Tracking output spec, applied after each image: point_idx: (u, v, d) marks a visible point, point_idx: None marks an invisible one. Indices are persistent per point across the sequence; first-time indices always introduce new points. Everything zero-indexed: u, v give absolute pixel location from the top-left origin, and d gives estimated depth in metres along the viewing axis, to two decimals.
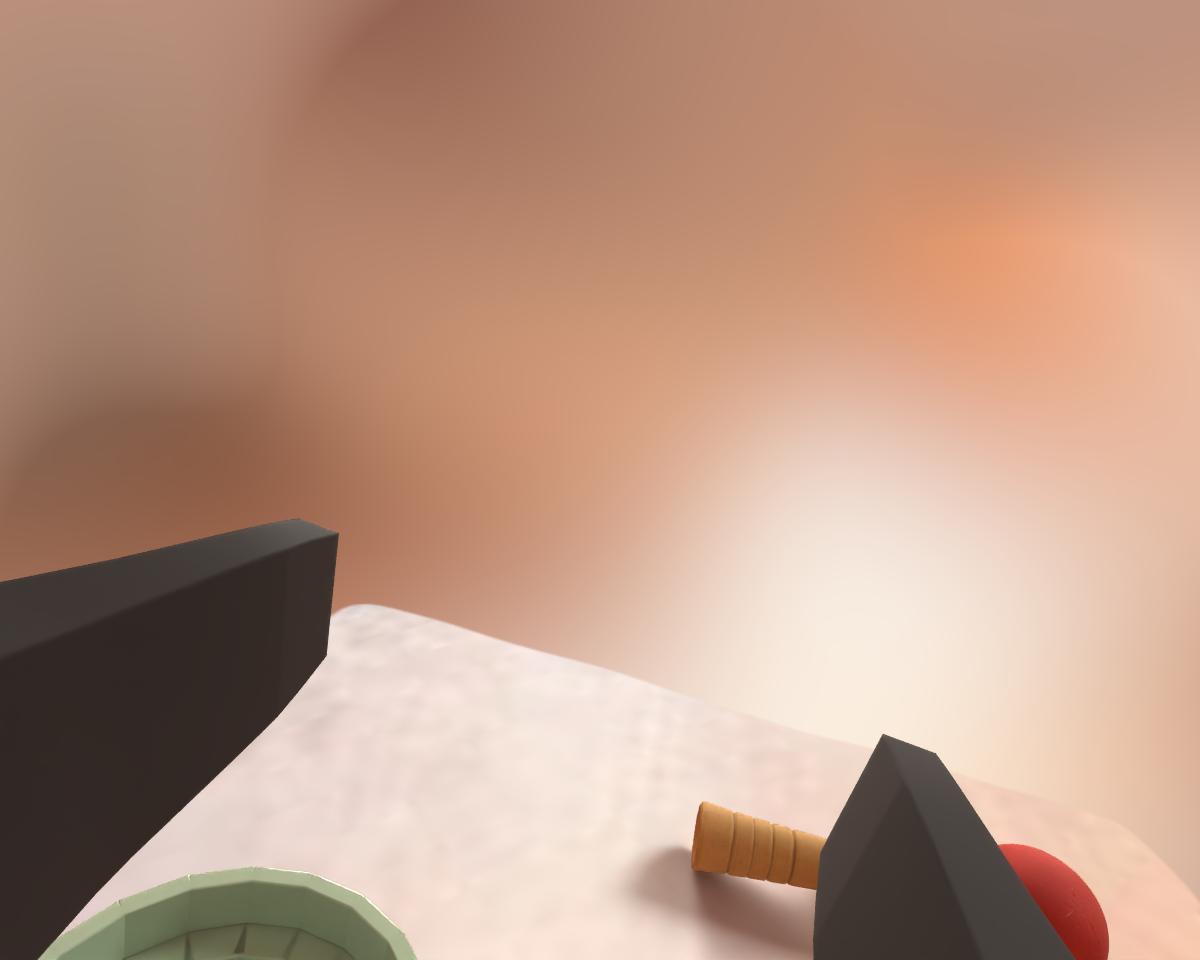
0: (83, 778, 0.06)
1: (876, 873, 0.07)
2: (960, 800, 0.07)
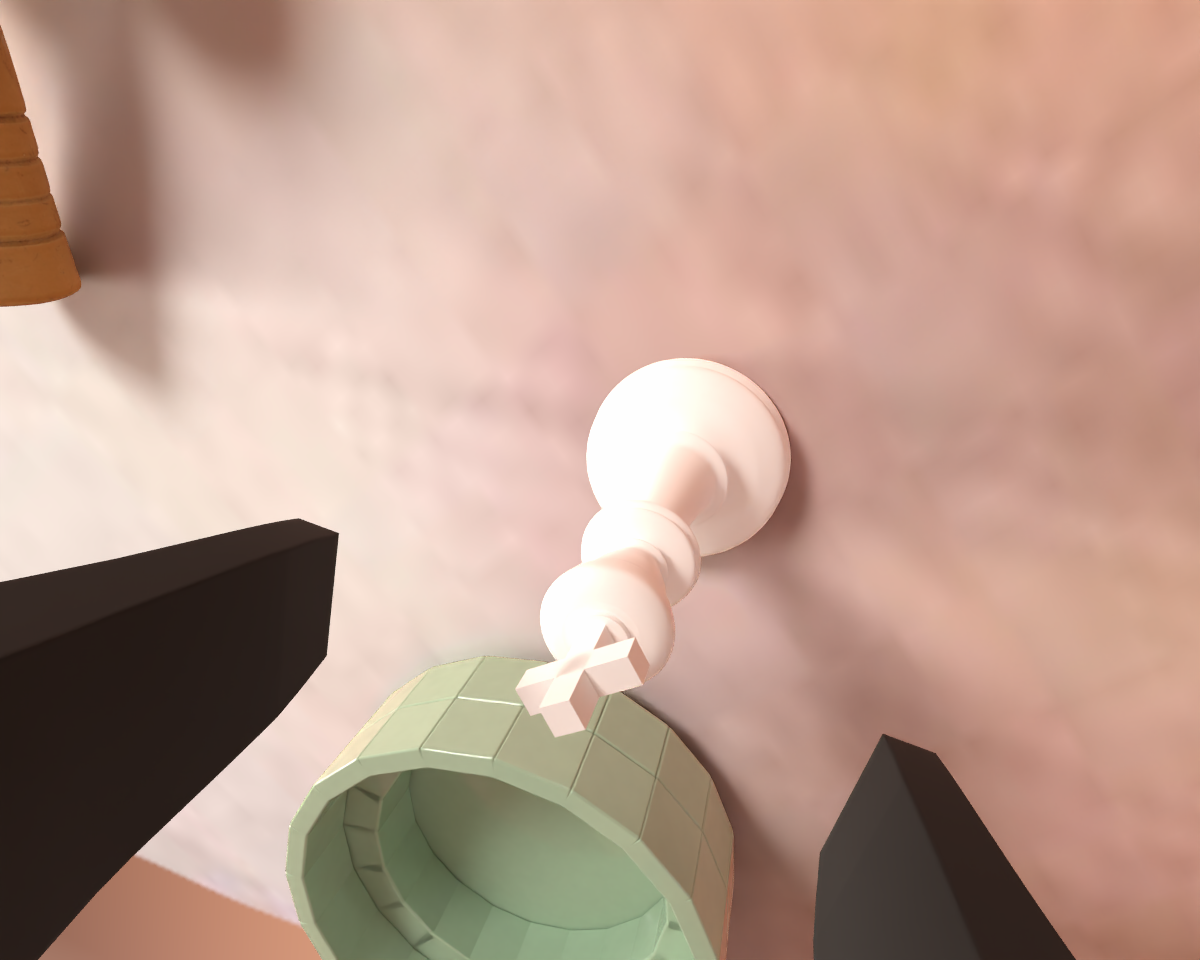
0: (83, 778, 0.06)
1: (876, 873, 0.07)
2: (961, 800, 0.07)
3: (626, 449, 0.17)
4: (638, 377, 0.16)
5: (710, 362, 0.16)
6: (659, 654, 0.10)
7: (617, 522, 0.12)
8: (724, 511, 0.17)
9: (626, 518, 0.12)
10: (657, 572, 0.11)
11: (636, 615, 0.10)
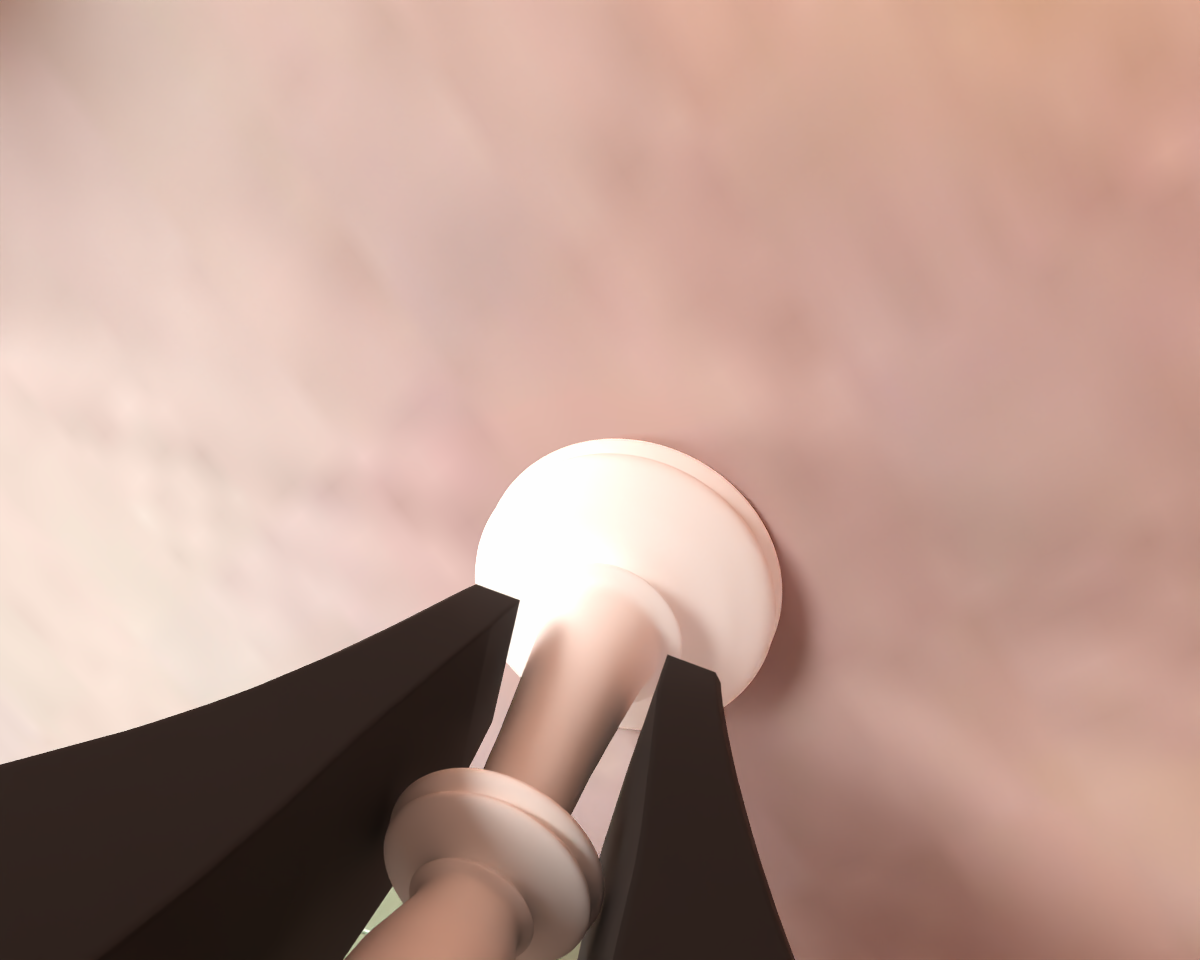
0: (329, 890, 0.06)
1: (631, 776, 0.07)
2: (710, 706, 0.07)
3: (527, 579, 0.11)
4: (545, 470, 0.11)
5: (657, 446, 0.11)
6: None
7: (438, 818, 0.06)
8: None
9: (455, 812, 0.06)
10: None
11: None
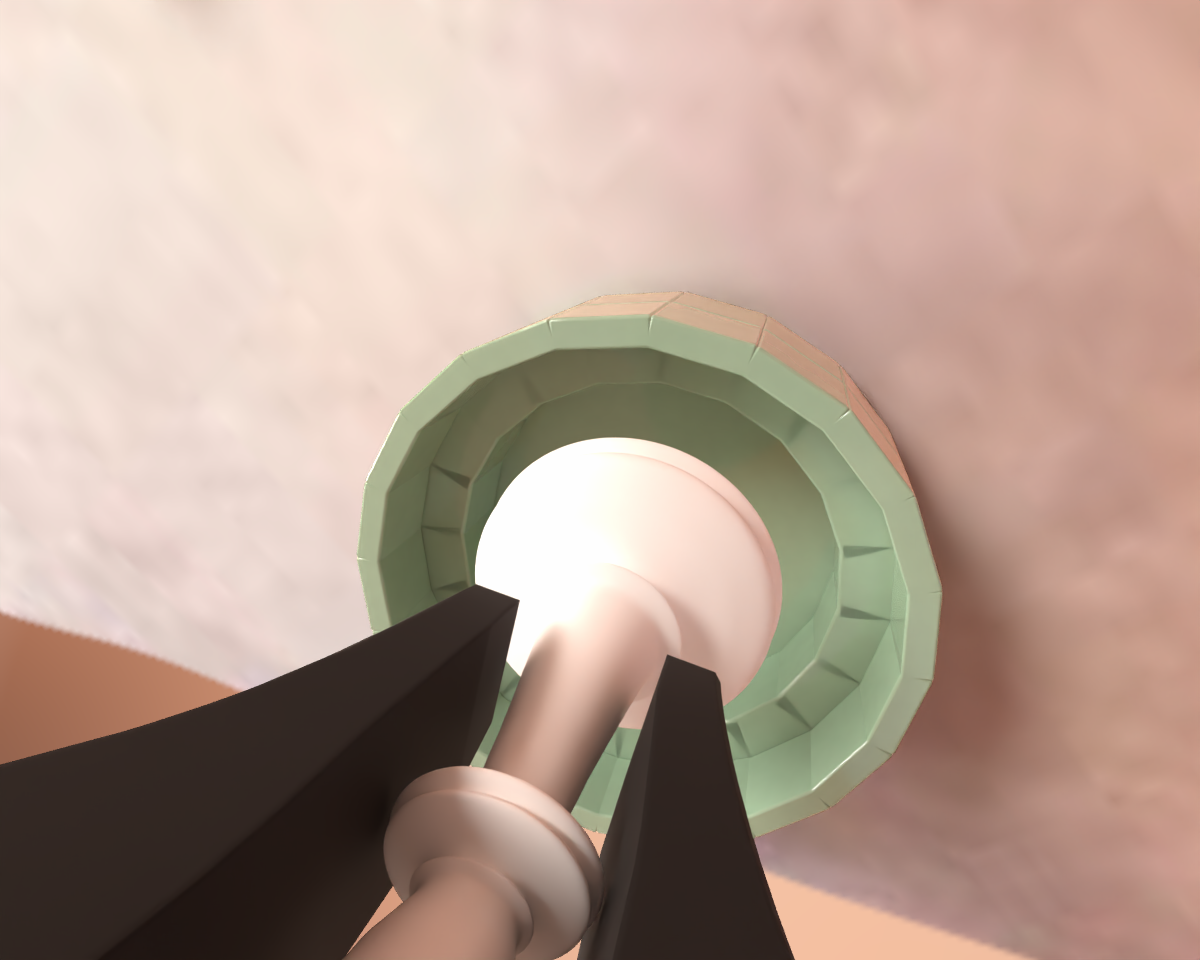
0: (329, 890, 0.06)
1: (631, 775, 0.07)
2: (710, 705, 0.07)
3: (527, 578, 0.11)
4: (544, 469, 0.11)
5: (657, 445, 0.11)
6: None
7: (438, 817, 0.06)
8: None
9: (455, 811, 0.06)
10: None
11: None
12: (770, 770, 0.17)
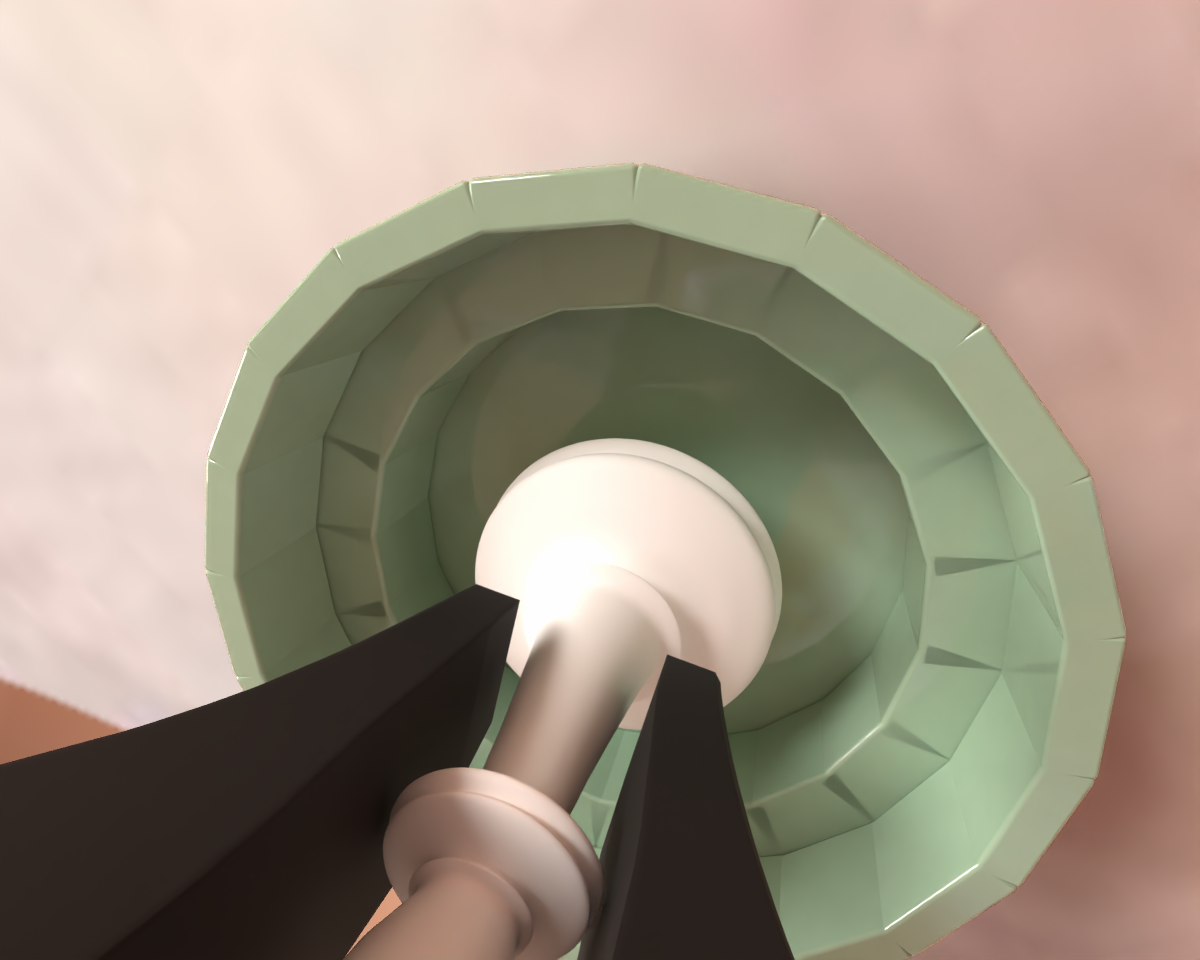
0: (330, 890, 0.06)
1: (631, 775, 0.07)
2: (710, 705, 0.07)
3: (527, 579, 0.11)
4: (544, 470, 0.11)
5: (656, 446, 0.11)
6: None
7: (437, 818, 0.06)
8: None
9: (454, 812, 0.06)
10: None
11: None
12: (814, 883, 0.11)
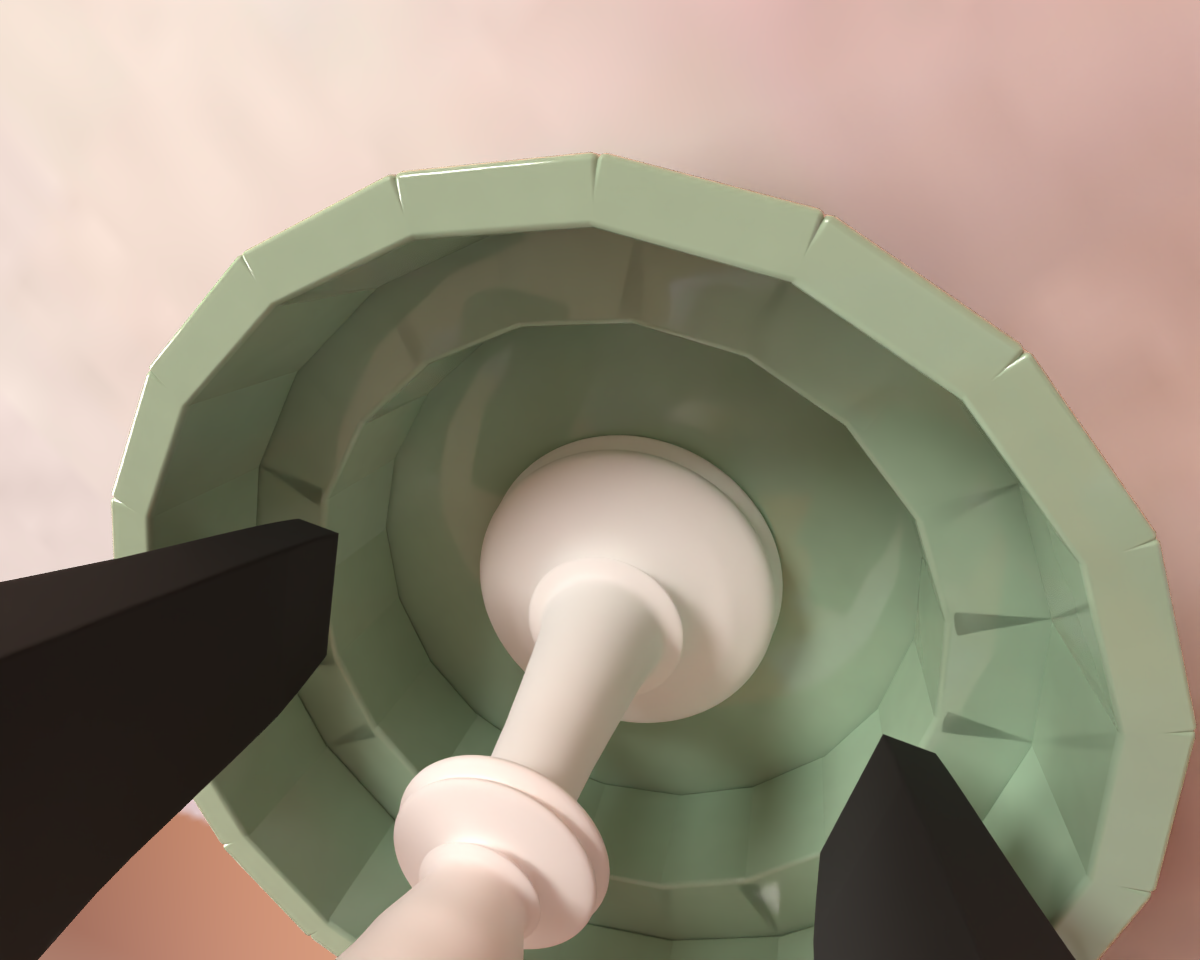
0: (84, 778, 0.06)
1: (876, 873, 0.07)
2: (962, 800, 0.07)
3: (532, 574, 0.11)
4: (548, 466, 0.11)
5: (659, 443, 0.11)
6: None
7: (447, 804, 0.06)
8: (681, 670, 0.11)
9: (464, 798, 0.06)
10: None
11: None
12: None
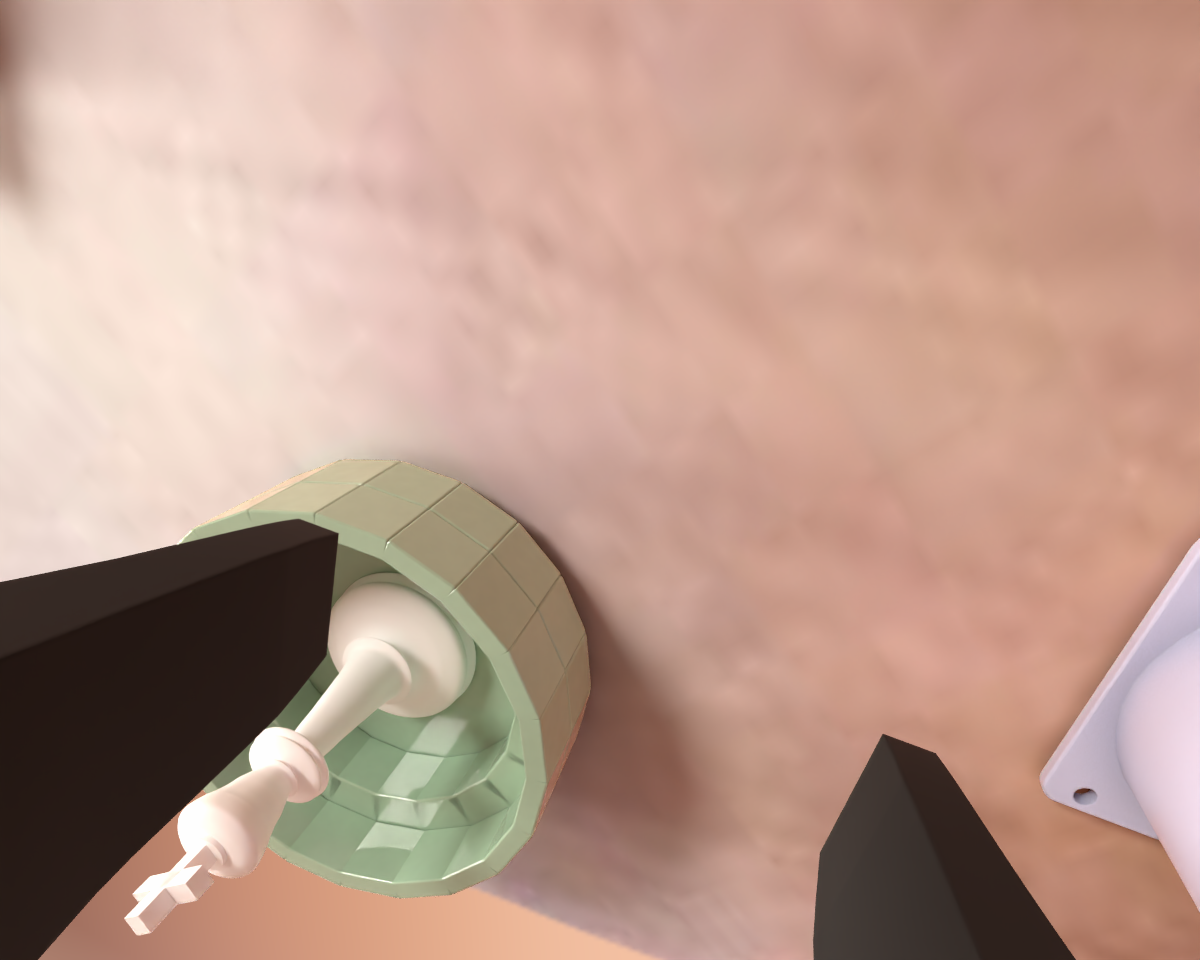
0: (83, 778, 0.06)
1: (876, 873, 0.07)
2: (961, 800, 0.07)
3: (347, 642, 0.22)
4: (353, 589, 0.22)
5: None
6: (246, 861, 0.15)
7: (265, 744, 0.17)
8: (420, 691, 0.22)
9: (271, 742, 0.17)
10: (270, 793, 0.16)
11: (226, 838, 0.15)
12: (474, 839, 0.21)
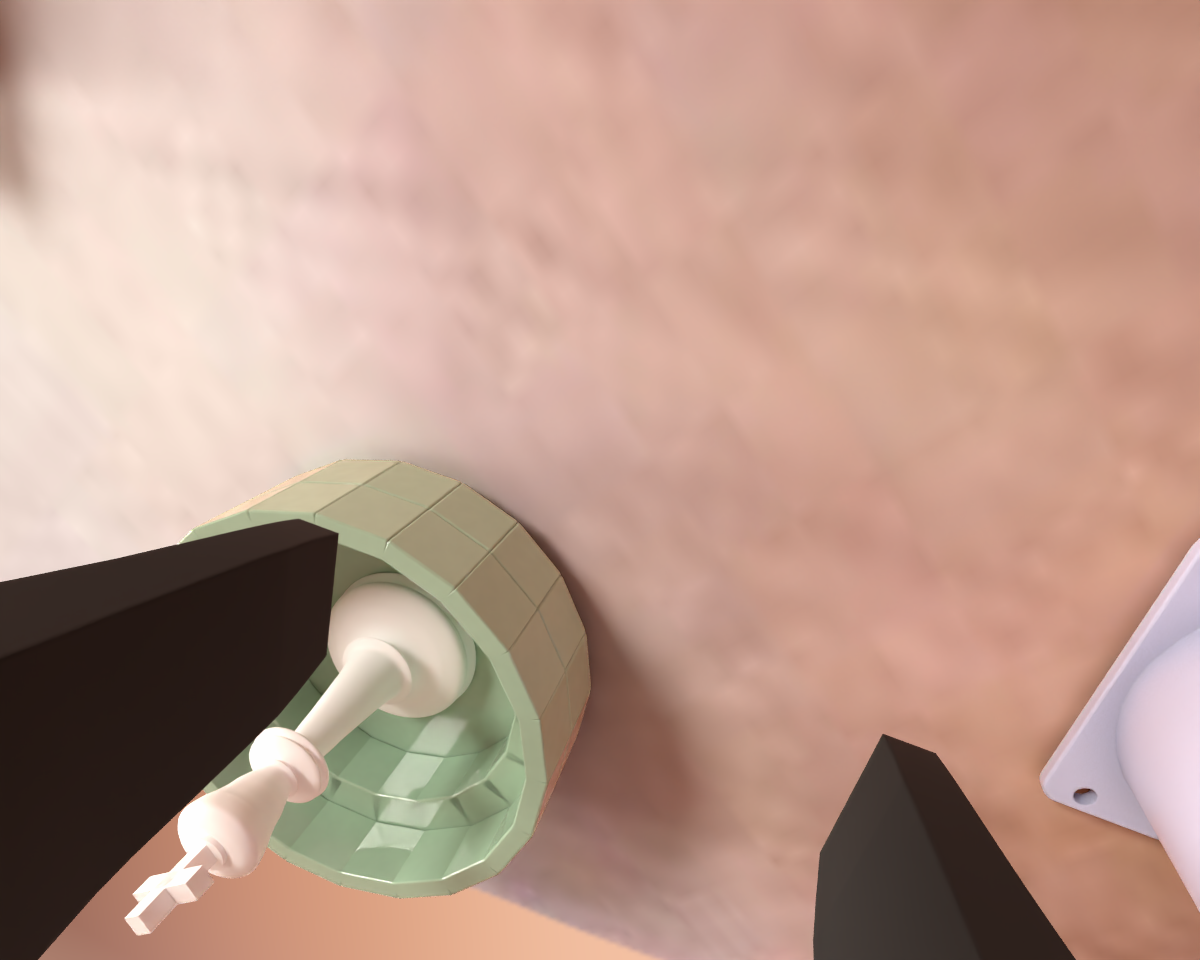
0: (83, 778, 0.06)
1: (876, 873, 0.07)
2: (961, 800, 0.07)
3: (347, 642, 0.22)
4: (354, 589, 0.22)
5: None
6: (246, 861, 0.15)
7: (265, 744, 0.17)
8: (420, 691, 0.22)
9: (271, 742, 0.17)
10: (270, 793, 0.16)
11: (226, 838, 0.15)
12: (474, 839, 0.21)
